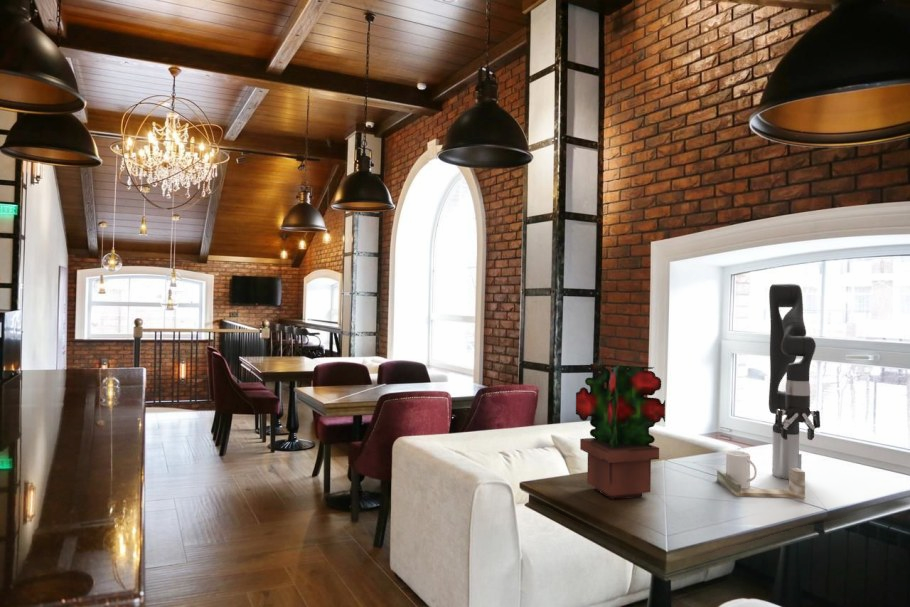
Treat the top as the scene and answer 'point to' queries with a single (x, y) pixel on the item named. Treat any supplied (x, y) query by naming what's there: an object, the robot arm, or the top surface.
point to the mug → (739, 467)
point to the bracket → (794, 489)
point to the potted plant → (620, 428)
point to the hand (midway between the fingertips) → (797, 439)
